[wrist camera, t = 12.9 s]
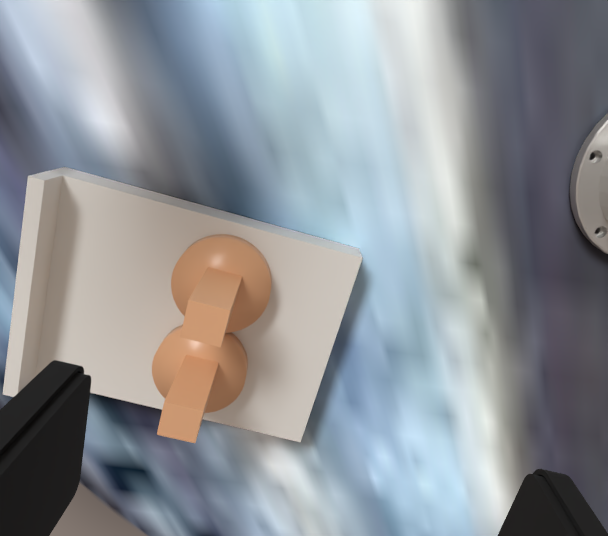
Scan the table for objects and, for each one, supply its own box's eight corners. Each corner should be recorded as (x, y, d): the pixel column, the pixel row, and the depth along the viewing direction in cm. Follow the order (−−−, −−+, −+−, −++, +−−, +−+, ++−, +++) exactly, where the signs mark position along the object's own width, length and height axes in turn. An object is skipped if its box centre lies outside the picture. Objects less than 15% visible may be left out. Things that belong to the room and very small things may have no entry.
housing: (358, 248, 37) (378, 296, 28) (300, 423, 42) (300, 515, 32) (64, 166, 35) (-22, 188, 26) (38, 360, 40) (-44, 439, 30)
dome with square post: (259, 321, 39) (247, 388, 30) (239, 394, 41) (222, 479, 32) (174, 299, 38) (133, 361, 29) (158, 374, 40) (115, 455, 31)
